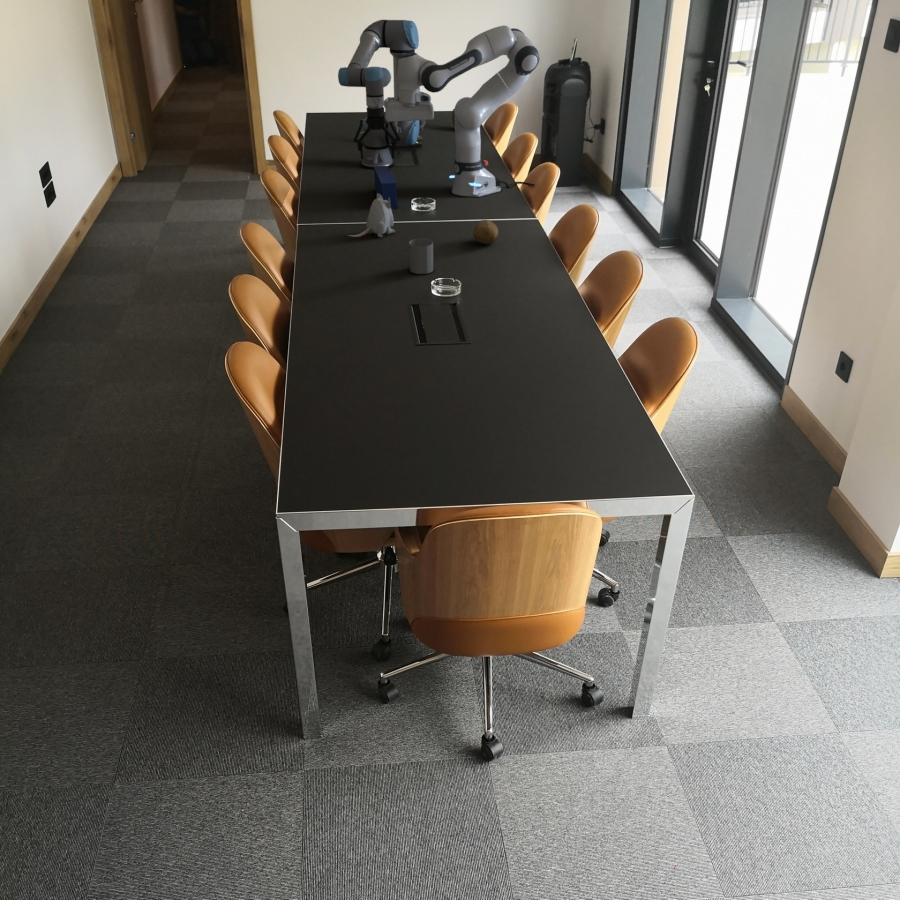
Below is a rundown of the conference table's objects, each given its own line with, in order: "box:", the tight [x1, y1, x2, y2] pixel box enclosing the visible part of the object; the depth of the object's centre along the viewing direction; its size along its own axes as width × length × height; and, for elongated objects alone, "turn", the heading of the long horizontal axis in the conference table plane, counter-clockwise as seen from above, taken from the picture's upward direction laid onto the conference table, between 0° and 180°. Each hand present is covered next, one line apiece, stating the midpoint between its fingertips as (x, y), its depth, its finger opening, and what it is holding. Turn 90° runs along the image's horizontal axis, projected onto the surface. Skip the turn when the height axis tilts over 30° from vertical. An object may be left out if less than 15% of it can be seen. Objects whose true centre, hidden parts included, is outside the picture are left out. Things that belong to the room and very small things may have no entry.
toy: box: [347, 193, 396, 238], centre depth 333 cm, size 9×24×15 cm, turn 137°
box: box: [373, 166, 398, 210], centre depth 377 cm, size 28×6×11 cm, turn 11°
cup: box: [408, 237, 434, 275], centre depth 305 cm, size 8×8×10 cm
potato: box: [472, 219, 499, 245], centre depth 330 cm, size 10×14×8 cm
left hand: (377, 158), depth 380 cm, fingers open, 13 cm apart
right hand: (409, 131), depth 361 cm, fingers open, 8 cm apart
